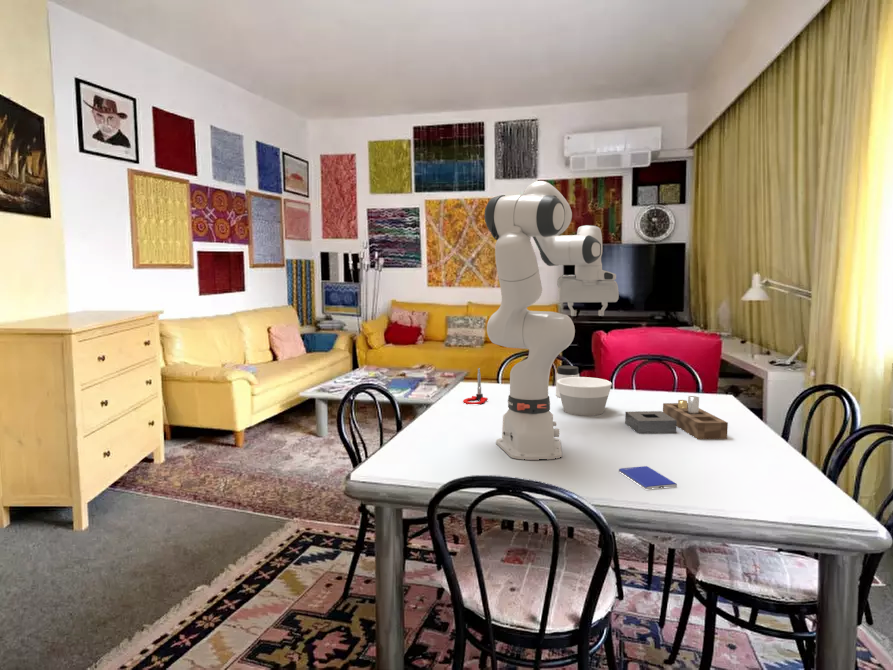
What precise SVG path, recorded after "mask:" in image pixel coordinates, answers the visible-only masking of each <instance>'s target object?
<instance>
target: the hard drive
mask: <svg viewBox="0 0 893 670" xmlns="http://www.w3.org/2000/svg"><path fill="white" fill-rule="evenodd" d="M619 472H621V473H623V474H624V475H626V476H627V477H629V478H630V479H632V480H633V481H635V482H636V483H638V484H639V485H641V486H642V487H644V488H645V489H652V488H661V487H662V488H663V489H665V488H664V487H674V488H677V487H678V484H677V482H674V481H673V480H671V479H669V478H668V477H666V476H664V475H663V474H661V473H659V472H658V471H656V470H654V469H653V468H651V467H650V466H647V465H646V466H645V465H644V466H634V467H621V468H619V469H618V473H619ZM621 473H620V474H621ZM624 475H623V476H624ZM627 477H626V478H627ZM630 479H629V480H630ZM633 481H632V482H633ZM636 483H635V484H636ZM639 485H638V486H639ZM642 487H641V488H642ZM645 489H644V490H645ZM652 490H653V489H652Z"/></svg>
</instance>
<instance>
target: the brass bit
mask: <svg viewBox="0 0 893 670" xmlns="http://www.w3.org/2000/svg"><path fill="white" fill-rule="evenodd" d="M677 403H678V408H687V403H688V400H687V399H678V400H677Z"/></svg>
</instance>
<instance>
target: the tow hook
mask: <svg viewBox="0 0 893 670" xmlns="http://www.w3.org/2000/svg"><path fill="white" fill-rule="evenodd" d="M480 369H481V368H480V367H479V368H477V388H476V389H477V393H476V394H475V396H474V395H472V396H471V397H467V398H465V399H463V400H462V402H464V403H466V404H465V405H468V404H480V405H483V404H485V403H486V402H488V401H487V400H489V397H484V396H483V395H484V394H483V393H482V384H481V383H482V382H481V381H482V377H481V370H480ZM470 400H471V401H470ZM479 400H480V401H479ZM464 403H463V404H464ZM482 403H483V404H482Z"/></svg>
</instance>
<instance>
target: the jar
mask: <svg viewBox="0 0 893 670" xmlns="http://www.w3.org/2000/svg"><path fill="white" fill-rule="evenodd" d="M556 369H557V373H555V374H556V380H555V396H556V397H557V398H560V399H561V396H560V392H559V388H558V384H557V381H558V380H559V379H562V378H568V377H580V373H579V367H578V366H575V365H559V366H557V368H556Z"/></svg>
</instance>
